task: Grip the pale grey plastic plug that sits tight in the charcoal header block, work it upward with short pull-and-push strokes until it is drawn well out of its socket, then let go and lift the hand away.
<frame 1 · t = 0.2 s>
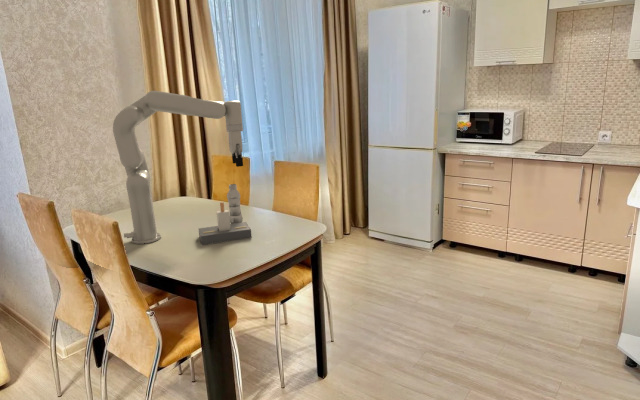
hand: (237, 164, 209), 31 cm above the table, tool pointing down, fingers open, 9 cm apart
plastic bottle: (236, 224, 221), on the table
plug: (223, 219, 200), point 8 cm above the table, slide at 0.0 cm
header: (225, 237, 202), on the table
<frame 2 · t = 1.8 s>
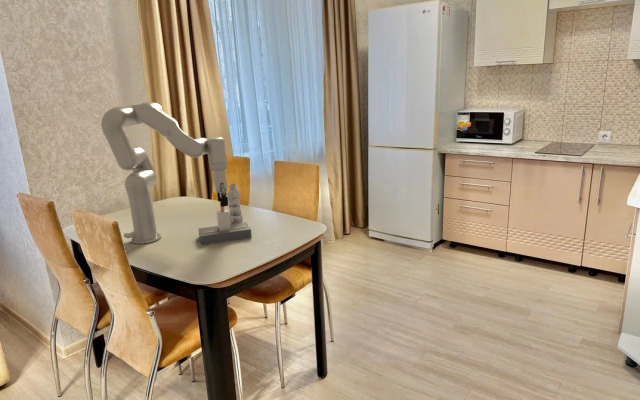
hand: (223, 203, 198), 16 cm above the table, tool pointing down, fingers open, 9 cm apart
nothing on the table moved.
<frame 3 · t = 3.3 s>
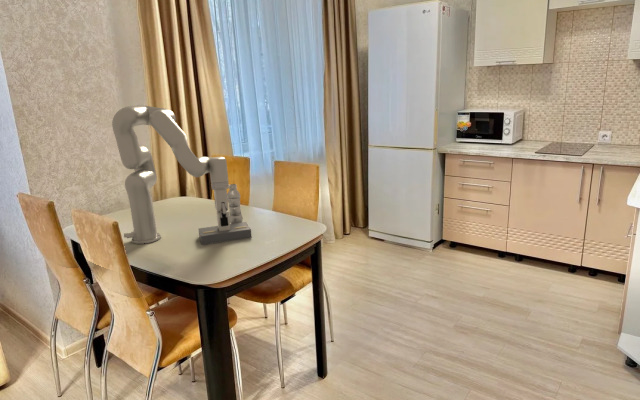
hand: (223, 224, 200), 6 cm above the table, tool pointing down, fingers closed on plug, 4 cm apart
plug: (223, 219, 200), point 8 cm above the table, slide at 0.0 cm, touching gripper
everything else where it was.
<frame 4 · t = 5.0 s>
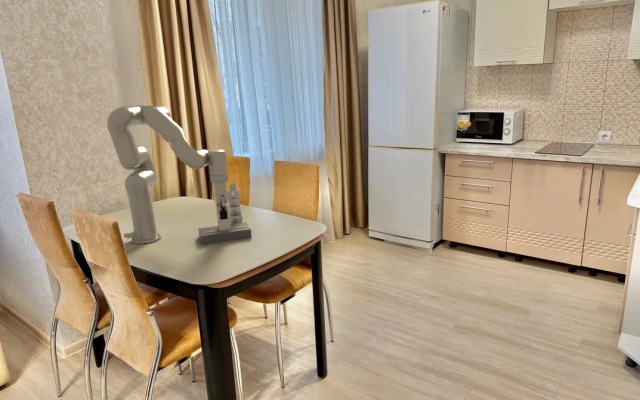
hand: (223, 217, 199), 9 cm above the table, tool pointing down, fingers closed on plug, 4 cm apart
plug: (222, 213, 199), point 11 cm above the table, slide at 3.2 cm, touching gripper
everything else where it was.
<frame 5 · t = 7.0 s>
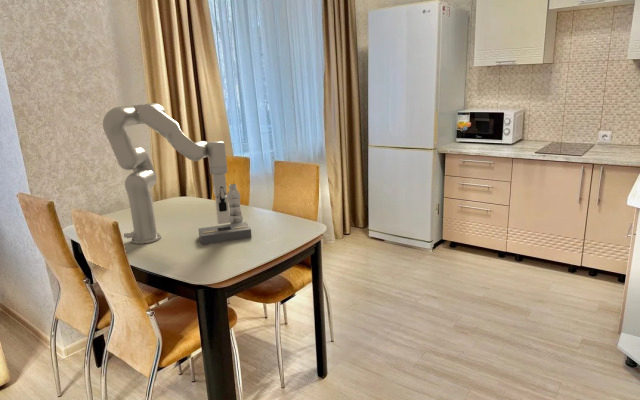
hand: (222, 209, 199), 13 cm above the table, tool pointing down, fingers closed on plug, 4 cm apart
plug: (222, 205, 198), point 15 cm above the table, slide at 6.9 cm, touching gripper
everything else where it was.
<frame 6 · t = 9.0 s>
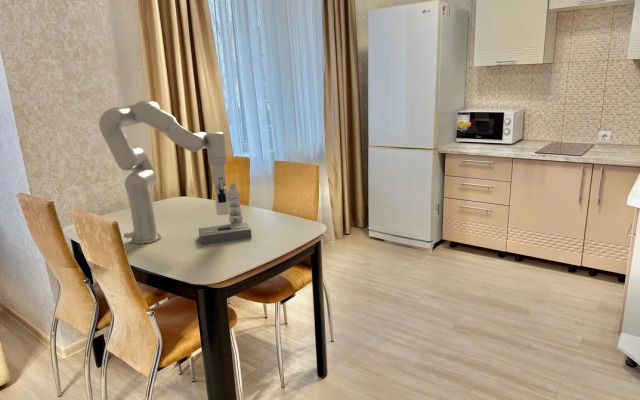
hand: (221, 200, 198), 17 cm above the table, tool pointing down, fingers closed on plug, 4 cm apart
plug: (221, 196, 197), point 19 cm above the table, slide at 10.9 cm, touching gripper
everything else where it was.
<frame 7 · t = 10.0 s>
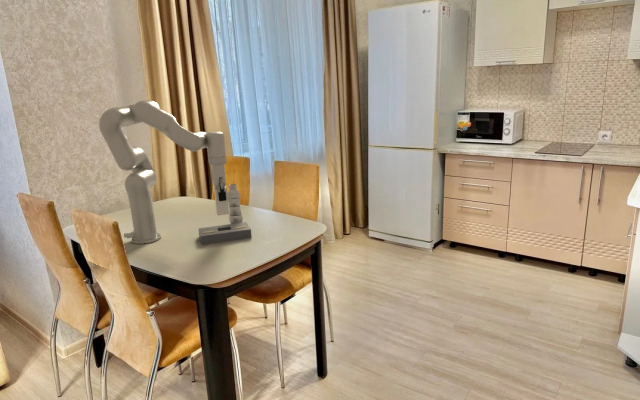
hand: (221, 198, 197), 18 cm above the table, tool pointing down, fingers open, 9 cm apart
plug: (221, 196, 197), point 19 cm above the table, slide at 10.9 cm
everything else where it was.
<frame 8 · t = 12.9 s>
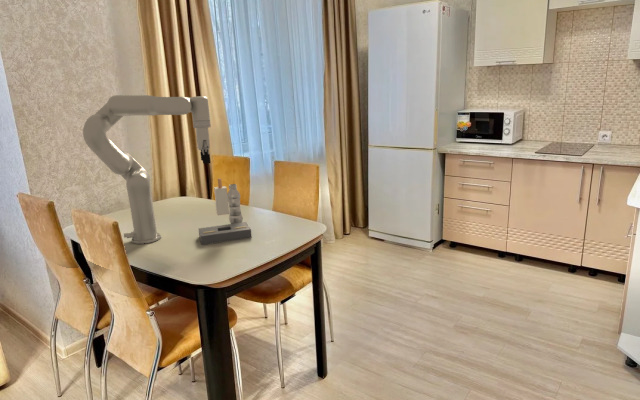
hand: (205, 161, 204), 33 cm above the table, tool pointing down, fingers open, 9 cm apart
nothing on the table moved.
at the end: plug slide at 10.9 cm; the gripper is holding nothing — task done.
